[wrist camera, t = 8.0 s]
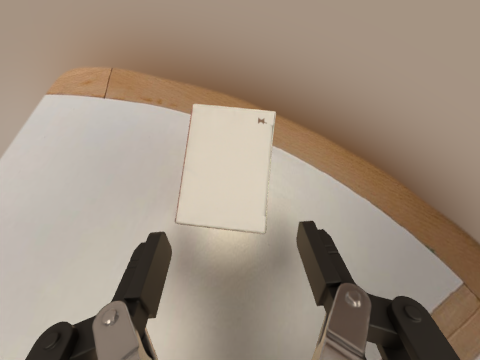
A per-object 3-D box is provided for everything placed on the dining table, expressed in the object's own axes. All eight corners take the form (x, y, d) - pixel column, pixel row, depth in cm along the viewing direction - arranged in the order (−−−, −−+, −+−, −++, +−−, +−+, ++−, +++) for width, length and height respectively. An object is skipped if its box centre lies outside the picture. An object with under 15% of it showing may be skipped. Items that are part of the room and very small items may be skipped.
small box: (213, 149, 23) (191, 98, 13) (261, 154, 23) (277, 107, 13) (204, 218, 22) (170, 224, 12) (254, 224, 22) (266, 235, 11)
